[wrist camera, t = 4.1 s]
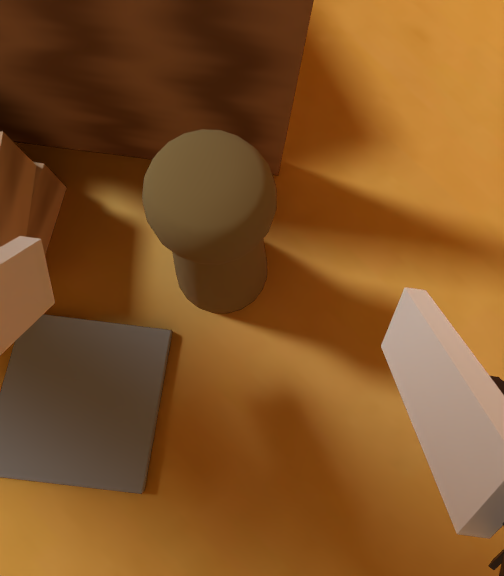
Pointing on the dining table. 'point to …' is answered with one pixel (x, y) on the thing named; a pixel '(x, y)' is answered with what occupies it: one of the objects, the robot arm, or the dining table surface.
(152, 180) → the olive brown peg
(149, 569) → the dining table surface
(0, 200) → the offcut upper
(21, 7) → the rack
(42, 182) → the offcut lower
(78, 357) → the coaster
